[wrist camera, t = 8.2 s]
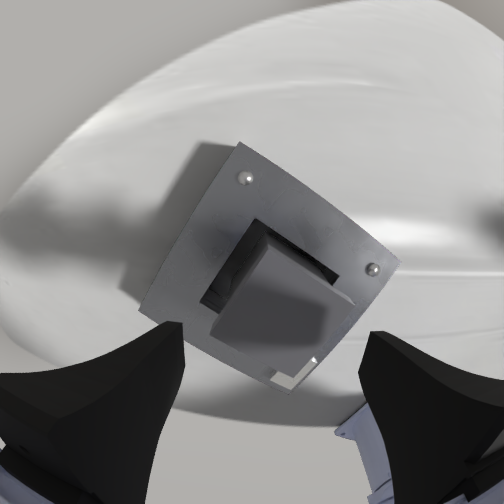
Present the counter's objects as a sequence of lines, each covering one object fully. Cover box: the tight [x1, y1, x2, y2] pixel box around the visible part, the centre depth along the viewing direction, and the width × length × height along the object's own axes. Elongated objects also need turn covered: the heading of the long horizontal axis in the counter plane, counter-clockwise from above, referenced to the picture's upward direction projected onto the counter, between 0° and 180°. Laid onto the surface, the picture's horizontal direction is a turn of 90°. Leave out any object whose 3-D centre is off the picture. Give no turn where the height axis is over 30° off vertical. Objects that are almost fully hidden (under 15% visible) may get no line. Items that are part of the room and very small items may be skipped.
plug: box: [209, 231, 355, 378], centre depth 15 cm, size 5×5×7 cm
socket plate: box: [138, 141, 401, 395], centre depth 17 cm, size 12×12×3 cm
